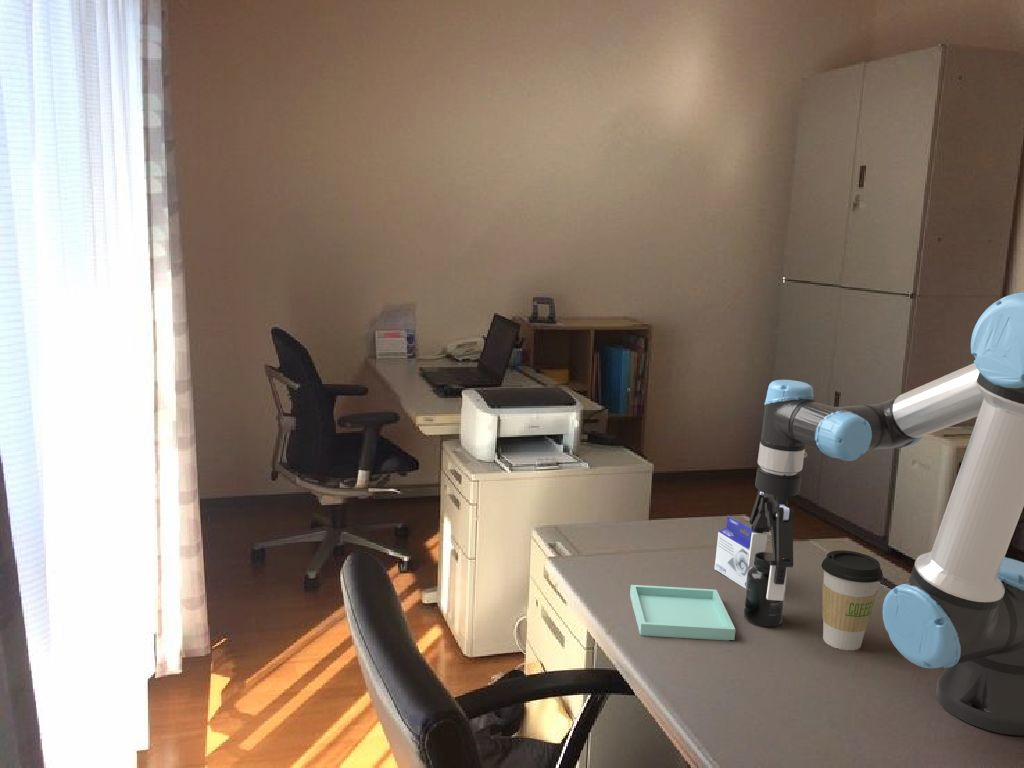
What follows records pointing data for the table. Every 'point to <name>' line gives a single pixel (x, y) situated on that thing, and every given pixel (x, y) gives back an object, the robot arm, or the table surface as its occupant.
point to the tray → (681, 613)
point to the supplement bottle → (761, 594)
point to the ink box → (733, 551)
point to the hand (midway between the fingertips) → (764, 582)
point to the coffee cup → (848, 597)
